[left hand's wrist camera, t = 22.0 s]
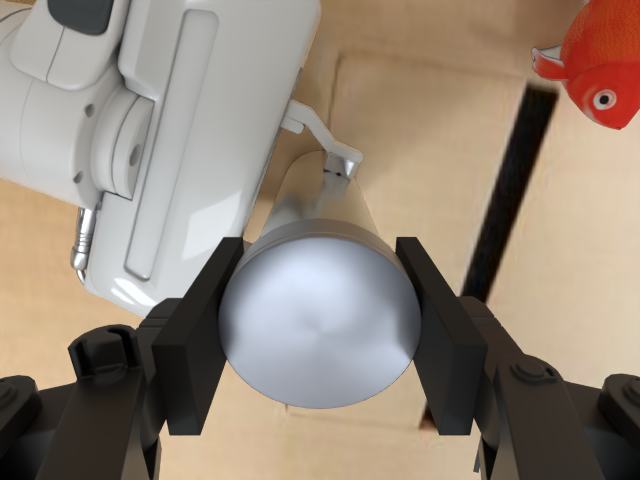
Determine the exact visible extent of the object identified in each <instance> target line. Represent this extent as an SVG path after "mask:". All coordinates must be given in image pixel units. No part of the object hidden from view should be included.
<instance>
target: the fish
mask: <svg viewBox="0 0 640 480" xmlns="http://www.w3.org/2000/svg"><path fill="white" fill-rule="evenodd" d="M583 1H585V3H586V6H585V7H584V8H583V9H582V10H581V12H580V13H579V14H578V16H577V17H576V19H575V20H574V22H573V23H572V25H571V27H570V28H569V30H568V32H567V34H566V36H565V38H564V40H563V42H562V45H560V46H555V47H552V48H548V49H540V50H538V49H537V48H536V47H533V48H532V50H531V53H532V58H533V60H534V61H533V67H532V68H533V69H534V71H535V72H536V73H538V75H539V76H540V77H541V78H544V79H548V80H552V81H562V84H563V86H564V88H565V90H566V91H567V93H568V95H569V97H570V98H571V100H572V101H573V102H574V103H575V104H576V105H577V107H578V108H579V109H580V110H581V111H582V112H583V113H584V114H585V115H586V116H587V117H588V118H589V119H591V120H592V121H593V122H596V123H598V124H600V125H602V126H605V127H608V128H612V129H617V130H620V129H622V128H624V127H626V125H627V124H628V123H629V122H630V120H631V119H632V118H633V117H634V115H635V114H636V113H637V111H638V110H639V109H640V0H583Z"/></svg>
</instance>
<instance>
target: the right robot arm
mask: <svg viewBox="0 0 640 480" xmlns="http://www.w3.org/2000/svg"><path fill="white" fill-rule="evenodd" d="M321 14H322V9H321V3H320V0H37V1H36V2H35V4H34V5H29V4H23V3H15V2H9V1H6V0H0V178H1V179H4V180H7V181H9V182H12V183H15V184H18V185H21V186H24V187H26V188H29V189H32V190H35V191H37V192H40V193H43V194H46V195H48V196H51V197H53V198H56V199H59V200H62V201H65V202H67V203H70V204H73V205H76V206H78V207H79V210H78V216H77V221H76V239H75V244H74V246H73V248H72V251H71V256H70V262H71V267H72V268H73V269H76V271H77V275H78V277H79V279H80V281H81V283H82V284H83V285H84V288H85V290H87V291H88V292H89V293H91V294H93V295H96V296H99V297H102V298H105V299H108V300H109V301H111V302H112V303H114V304H116V305H118V306H120V307H122V308H124V309H126V310H128V311H130V312H132V313H134V314H136V315H138V316H140V317H142V318H144V319H146V316H147V315H148V313H149V312H150V311H151V309H152V308H153V307H154V306H155V305H157V304H158V303H160V302H161V301H163V300H164V299H166V298H183V296H184V295H185V293H186V292H187V290H188V289H189V288H190V286H191V285H192V283H193V282H194V280H195V279H196V277H197V276H198V274H199V273H200V271H201V270H202V268H203V267H204V265H205V264H206V262H207V261H208V259H209V258H210V256H211V255H212V253H213V252H214V250H215V249H216V247H217V246H218V244H219V243H220V241H221V240H222V238H223V237H243V235H244V232H245V230H246V227H247V224H248V221H249V218H250V216H251V213H252V210H253V207H254V204H255V202H256V199H257V196H258V193H259V191H260V188H261V185H262V182H263V179H264V177H265V174H266V171H267V168H268V166H269V163H270V160H271V157H272V154H273V152H274V149H275V146H276V143H277V140H278V138H279V135H280V132H281V129H282V128H284V129H287V130H289V131H292V132H294V133H296V134H300V133H302V131H303V128H304V126H305V124H306V126H307V127H308V128H309V130H310V131H311V132H312V133H313V135H314V136H315V137H316V139H317V140H318V141H319V143H320V144H321V145H322V147H323V148H324V149H325V150H326V152H327V154H326V157H325V160H324V162H323V165H324V166H323V169H325V170H328V171H330V172H334V173H339V172H340V174H341V175H342V176H343V177H345V178H347V179H350V180H353V178H354V176H355V174H356V172H357V170H358V167H359V165H360V163H361V161H362V159H363V156H364V155H363V153H362V152H361V151H359V150H357V149H355V148H353V147H350V146H348V145H346V144H343V143H341V142H339V141H336V140H334V137H333V136H332V134H331V133H330V132H329V130H328V129H327V127H326V126H325V125H324V123H323V122H322V121H321V119H320V118H319V117H318V115H317V114H316V113H315V111H314V110H313V108H312V107H309V106H307V105H305V104H302V103H300V102H298V101H296V100H293V96H294V93H295V90H296V88H297V85H298V82H299V79H300V76H301V74H302V71H303V68H304V65H305V63H306V60H307V57H308V54H309V51H310V49H311V46H312V43H313V40H314V37H315V35H316V32H317V29H318V26H319V23H320V20H321ZM243 244H244V253H245V252H246V251H247V250H248V249H249V247H250V246H251V245H252V243H250V242H247V241H245V240H243ZM86 269H87V270H86ZM84 270H86V275H85V272H84Z"/></svg>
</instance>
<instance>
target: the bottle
mask: <svg viewBox="0 0 640 480" xmlns="http://www.w3.org/2000/svg"><path fill="white" fill-rule="evenodd" d="M326 154H327V152H326V151H311V152H308V153H305V154H303V155H302V156H300V157H298V158H297V159H296V160H295V161H294V162H293V163H292V164H291V166H290V167H289V169H288V171H287V173H286V175H285V178H284V180H283V183H282V185H281V187H280V190H279V192H278V195H277V197H276V199H275V202H274V204H273V206H272V209H271V211H270V214H269V216H268V218H267V221H266V223H265V225H264V228H263V230H262V233H261V235H260V237H262V236H263V235H265V234H266V233H268V232H270V231H271V230H273V229H275V228H278V227H280V226H282V225H285V224H288V223H291V222H294V221H299V220H305V219H316V218H324V219H335V220H340V221H345V222H349V223H352V224H355V225H358V226H360V227H362V228H364V229H366V230H368V231H370V232H372V233H373V234H375V235H376V236H378V237H379V238H380V236H379V234H378V231H377V229H376V227H375V224H374V222H373V219H372V217H371V215H370V212H369V210H368V208H367V205H366V203H365V200H364V198H363V196H362V193H361V191H360V188H359V186H358V184H357V181H356V179H355V177H354V178H353V180H350V179H347V178H345V177H343V176H342V175H341V174H340V172H339V173H334V172H330V171H328V170H325V169H323V166H324V165H323V162H324V160H325V157H326ZM260 237H259V238H260Z"/></svg>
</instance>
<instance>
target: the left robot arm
mask: <svg viewBox="0 0 640 480" xmlns="http://www.w3.org/2000/svg"><path fill="white" fill-rule="evenodd" d="M243 254H244V244H243V237H223V238H222V240H221V241H220V243H219V244H218V246H217V247H216V249H215V250H214V252H213V253H212V255H211V256H210V258H209V259H208V261H207V262H206V264H205V265H204V267H203V268H202V270H201V271H200V273H199V274H198V276H197V277H196V279H195V280H194V282H193V283H192V285H191V286H190V288H189V289H188V290H187V292H186V293H185V295H184V296H183V298H166V299H164V300H163V301H161V302H160V303H158V304H157V305H155V306H154V307H153V308H152V309H151V311H150V312H149V313H148V315H147V316H146V319H144V320H143V321H142V322H141V323H140V325H139V328H137V329H136V330H134V329H133V328H132V327H131V326H127V325H122V324H117V325H107V326H103V327H99V328H96V329H93V330H91V331H89V332H86V333H84V334H83V335H81V336H80V337H78V338H77V339H75V340H74V341H73V342H72V343H71V345H70V346H69V347H68V351H69V354H70V358H71V361H72V364H73V367H74V370H75V374H76V377H77V381H76V382H75V383H71V384H68V385H63V386H58V387H54V388H49V389H45V390H40V391H38V388H37V385H36V383H35V380H33V379H32V378H31V377H29V376H21V375H17V376H10V377H5V378H1V379H0V480H159V471H160V461H161V451H162V448H161V442H160V437H159V433H160V431H161V429H162V427H163V425H164V422H165V420H167V425H168V430H169V435H200V434H201V432H202V429H203V426H204V423H205V420H206V417H207V414H208V412H209V409H210V406H211V403H212V400H213V397H214V394H215V391H216V389H217V386H218V383H219V380H220V377H221V374H222V371H223V369H224V366H225V363H226V360H227V358H226V356H225V354H224V352H223V349H222V346H221V343H220V337H219V329H218V320H217V319H218V309H219V305H220V301H221V298H222V295H223V293H224V291H225V289H226V287H227V284H228V282H229V280H230V278H231V276H232V274H233V272H234V270H235V268H236V266H237V264H238V262H239V261H240V259H241V257H242V256H243ZM395 254H396V255H397V256H398V258H399V260H400V261H401V263H402V264H403V267H404V269H405V271H406V273H407V275H408V277H409V279H410V281H411V283H412V285H413V287H414V289H415V292H416V294H417V296H418V299H419V303H420V307H421V312H422V325H421V334H420V341H419V345H418V348H417V351H416V353H415V355H414V357H413V361H414V364H415V367H416V370H417V372H418V375H419V378H420V381H421V384H422V387H423V390H424V393H425V395H426V398H427V401H428V404H429V407H430V410H431V413H432V415H433V418H434V421H435V424H436V427H437V430H438V433H439V435H470V433H471V428H472V423H473V418H474V419H475V421H476V424H477V426H478V428H479V430H480V432H481V437H480V442H479V446H478V451H477V455H476V460H475V465H474V471H473V472H477V473H478V472H479V468H480V470H481V480H640V377H638V376H634V375H628V374H613V375H610V376H609V377H607V378H606V379H605V381H604V384H603V387H602V389H598V388H593V387H589V386H584V385H580V384H575V383H571V382H567V381H564V380H563V378H562V377H561V375H560V374H559V372H558V371H557V370H556V369H555V368H553V367H552V366H551V365H550V364H548V363H547V362H545V361H543V360H541V359H539V358H537V357H534V356H530V355H526V354H524V353H523V352H522V350H521V349H520V348H519V347H518V345H517V344H516V343H515V342H514V340H513V339H512V338H511V336H510V335H509V334H508V333H507V331H506V330H505V329H504V328H503V326H501V324H500V322H499V321H498V320H497V319H496V318H494V315H493V313H492V312H491V311H490V310H489V308H488V307H487V306H486V305H485V304H483V303H482V302H480V301H479V300H477V299H476V298H474V297H456V296H455V294H454V293H453V291H452V290H451V288H450V287H449V285H448V284H447V282H446V281H445V279H444V278H443V276H442V275H441V273H440V272H439V270H438V269H437V267H436V266H435V264H434V263H433V261H432V260H431V258H430V257H429V255H428V254H427V252H426V251H425V249H424V248H423V246H422V245H421V243H420V242H419V240H418V239H417V237H397V239H396V251H395Z"/></svg>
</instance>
